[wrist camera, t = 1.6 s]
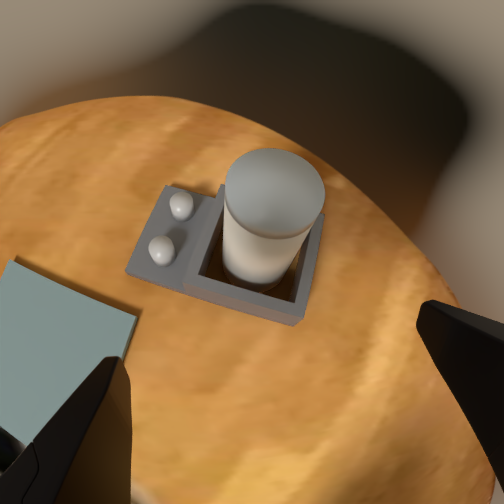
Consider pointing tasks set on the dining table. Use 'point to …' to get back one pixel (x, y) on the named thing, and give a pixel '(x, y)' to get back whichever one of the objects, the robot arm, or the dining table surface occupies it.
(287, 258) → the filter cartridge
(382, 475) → the dining table surface
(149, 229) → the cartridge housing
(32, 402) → the rubber mat
